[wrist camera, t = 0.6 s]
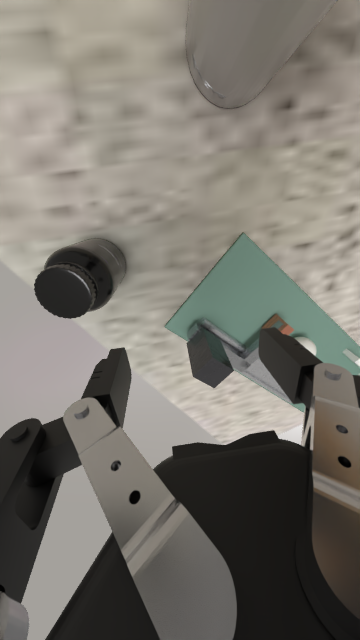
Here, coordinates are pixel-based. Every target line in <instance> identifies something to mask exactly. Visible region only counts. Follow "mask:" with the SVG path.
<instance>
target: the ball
mask: <svg viewBox="0 0 360 640" xmlns="http://www.w3.org/2000/svg"><path fill="white" fill-rule="evenodd" d="M295 339H296V340H297V341H298V342H299V343H300V344H302V345H303V346H304V347H305V348H306V349H308V350H309V351H310V352H311V353H312V354H314V355H316V352H317V349H316V346H315V344H314V343H313V342H312V341H311V340H310V339H308V338H305V337H296V338H295Z"/></svg>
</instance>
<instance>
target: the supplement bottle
mask: <svg viewBox="0 0 360 640" xmlns="http://www.w3.org/2000/svg"><path fill="white" fill-rule="evenodd" d="M125 271H126V264H125V260H124V257H123V255H122V253H121V252H120V250H119V249H118V248H117V247H116V246H115V245H114V244H112V243H111V242H109V241H107V240H104V239H99V238H93V239H88V240H85V241H82V242H79V243H76V244H73V245H70V246H67V247H64V248H62V249H59V250H57V251H56V252H54V253H53V254H52V255H51V256H50V257H49V258H48V259H47V261H46V263H45V266H44V270H43V271H41V273H40V274H39V275H38V276H37V279H35V284H34V286H35V288H34V290H35V295H36V296H37V299H38V301H39V302H40V304H41V305H42V306H43V307H44V308H45V309H46V310H48V311H49V312H50V313H52V314H53V315H57V316H58V317H63V318H70V319H71V318H76V317H80V316H82V315H84V314H85V313H86V312H90V311H95V310H97V309H100V308H101V307H103V306H104V305H105V304H106V303H107V302H108V301H109V300H110V298H111V297H112V295H113V294H114V292H115V291H116V289H117V287H118V286H119V284H120V283H121V281H122V279H123V278H124V275H125Z"/></svg>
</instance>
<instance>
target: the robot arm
mask: <svg viewBox="0 0 360 640" xmlns="http://www.w3.org/2000/svg"><path fill="white" fill-rule="evenodd" d="M336 1H337V0H190V2H189V9H188V17H187V24H186V52H187V60H188V64H189V68H190V72H191V74H192V77H193V79H194V81H195V84H196V85H197V87H198V88H199V90H200V91H201V93H202V94H203V95H204V96H205V97H206V98H207V99H208V100H209V101H210V102H212V103H213V104H215V105H217V106H219V107H224V108H237V107H240V106H242V105H245V104H247V103H248V102H250V101H251V100H253V99H254V98H255V97H256V96H257V95H258V94H259V93H260V92H261V91H262V90H263V88H264V87H265V86H266V85H267V84H268V82H269V81H270V80H271V79H272V78H273V76H274V75H275V74H276V73H277V72H278V71H279V70H280V68H281V67H282V66H283V65H284V64H285V62H286V61H287V60H288V59H289V58H290V56H291V55H292V54H293V53H294V52H295V51H296V49H297V48H298V47H299V46H300V45H301V43H302V42H303V41H304V40H305V39H306V37H307V36H308V35H309V34H310V33H311V31H312V30H313V29H314V28H315V27H316V25H317V24H318V23H319V22H320V21H321V19H322V18H323V17H324V16H325V15H326V13H327V12H328V11H329V10H330V9H331V7H332V6H333V5H334V4H335V3H336ZM258 353H259V358H260V360H261V362H262V363H263V364H264V366H265V367H266V368H267V370H268V371H269V372H270V374H271V375H272V376H273V378H274V379H275V380H276V382H277V383H278V384H279V386H280V387H281V388H282V390H283V391H284V392H285V394H286V395H287V396H288V398H289V399H290V400H291V402H292V403H293V404H300V403H303V404H304V405H305V410H304V419H303V431H302V441H301V445H299V444H297V443H294V442H291V441H287V440H282V439H279V438H278V436H277V435H276V433H275V431H274V430H273V431H267V432H260V433H254V434H249V435H247V436H245V437H243V438H240V439H238V440H236V441H234V442H232V443H230V444H227V445H217V444H207V443H192V444H185V445H179V446H173V447H172V450H173V456H171V457H169V458H167V459H166V460H164V461H162V462H161V463H160V464H159V465H157V466H156V467H155V468H154V469H152V468H151V466H150V465H149V464H148V462H147V461H146V460H145V458H144V457H143V456H142V454H141V453H140V452H139V450H138V449H137V448H136V447H135V445H134V444H133V442H132V441H131V440H130V438H129V437H128V436H127V434H126V433H125V432H124V430H123V429H122V428H123V423H124V417H125V411H126V406H127V400H128V395H129V389H130V383H131V369H130V365H129V361H128V357H127V353H126V350H125V348H117V349H111V350H110V352H109V355H108V358H107V359H102V360H101V361H100V362H99V363H98V364H97V365H96V367H95V369H94V371H93V374H92V376H91V378H90V380H89V382H88V385H87V387H86V389H85V391H84V393H83V396H82V398H81V400H78V401H77V402H75V403H73V404H72V405H71V406H70V407H69V408H68V409H67V410H66V411H65V413H64V416H63V417H61V418H59V419H57V420H54V421H51V422H49V423H46V424H44V425H42V424H41V422H40V421H39V420H38V419H34V418H32V419H27V420H24V421H21V422H19V423H18V424H16V425H14V426H13V427H11V428H10V429H9V430H8V431H6V432H5V434H4V435H3V436H2V437H1V438H0V640H27V636H28V629H29V617H28V612H27V610H26V608H25V607H24V606H23V605H22V604H21V602H22V599H23V596H24V593H25V590H26V587H27V584H28V581H29V578H30V575H31V572H32V569H33V565H34V562H35V559H36V556H37V553H38V550H39V547H40V544H41V541H42V538H43V535H44V532H45V529H46V526H47V523H48V520H49V517H50V514H51V511H52V508H53V504H54V502H55V499H56V496H57V492H58V490H59V486H60V483H61V480H62V477H63V474H64V473H66V472H68V471H70V470H72V469H74V468H76V467H78V466H80V465H83V467H84V469H85V471H86V474H87V476H88V478H89V480H90V483H91V485H92V487H93V489H94V491H95V494H96V496H97V498H98V501H99V503H100V505H101V507H102V509H103V512H104V514H105V516H106V518H107V521H108V523H109V525H110V527H111V529H112V533H111V535H110V537H109V538H108V540H107V541H106V543H105V545H104V546H103V548H102V550H101V551H100V553H99V554H98V556H97V558H96V559H95V561H94V562H93V564H92V566H91V567H90V569H89V571H88V572H87V574H86V575H85V577H84V578H83V580H82V582H81V583H80V585H79V586H78V588H77V590H76V591H75V593H74V594H73V596H72V598H71V599H70V601H69V603H68V604H67V606H66V607H65V609H64V610H63V612H62V614H61V615H60V617H59V619H58V620H57V622H56V623H55V625H54V627H53V628H52V630H51V631H50V633H49V635H48V636H47V638H46V639H45V640H360V375H352V374H351V373H350V372H349V371H348V370H346V369H345V368H343V367H341V366H338V365H335V364H331V363H323V362H322V361H321V360H320V359H318V358H317V357H316V356H315V355H314V354H312V353H311V352H310V351H309V350H308V349H306V348H305V347H304V346H303V345H302V344H300V343H299V342H298V341H297V340H296V339H295V338H293V337H291V336H288V335H286V334H282V333H281V332H280V331H279V330H278V329H277V328H275V327H271V328H264V329H261V330H260V337H259V349H258Z"/></svg>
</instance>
